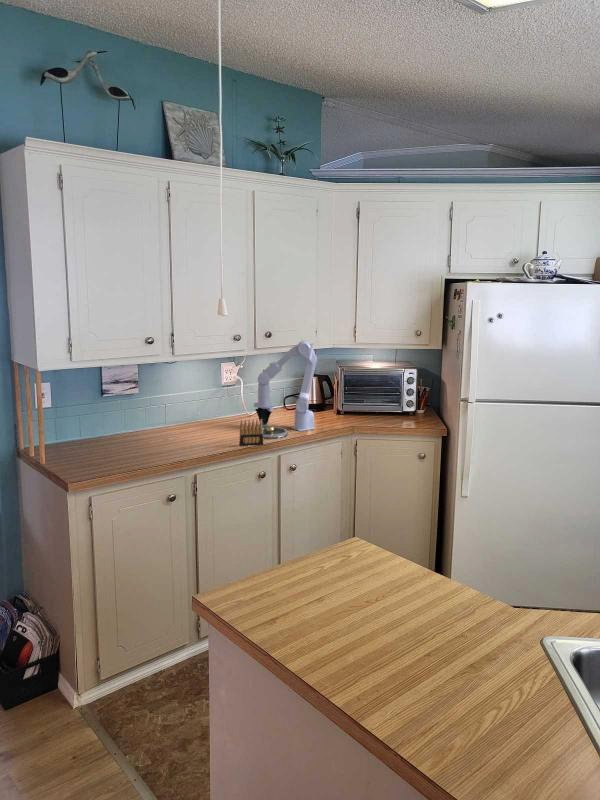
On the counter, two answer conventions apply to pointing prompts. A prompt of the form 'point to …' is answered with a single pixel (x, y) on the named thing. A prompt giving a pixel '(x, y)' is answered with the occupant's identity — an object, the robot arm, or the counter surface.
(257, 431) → the ammunition clip
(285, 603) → the counter surface
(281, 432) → the round metal bowl
